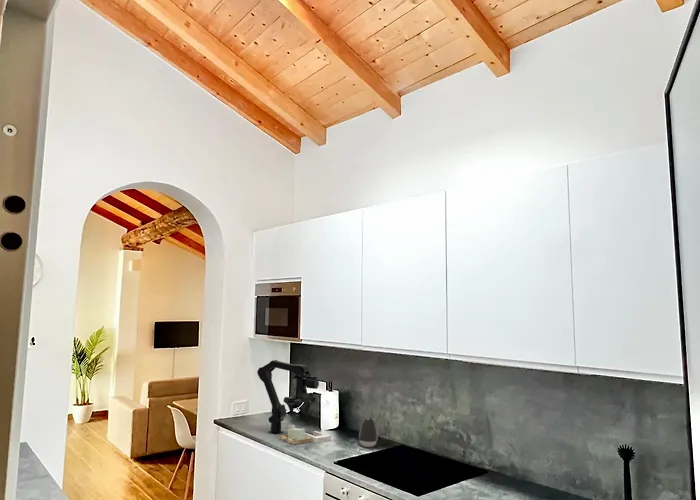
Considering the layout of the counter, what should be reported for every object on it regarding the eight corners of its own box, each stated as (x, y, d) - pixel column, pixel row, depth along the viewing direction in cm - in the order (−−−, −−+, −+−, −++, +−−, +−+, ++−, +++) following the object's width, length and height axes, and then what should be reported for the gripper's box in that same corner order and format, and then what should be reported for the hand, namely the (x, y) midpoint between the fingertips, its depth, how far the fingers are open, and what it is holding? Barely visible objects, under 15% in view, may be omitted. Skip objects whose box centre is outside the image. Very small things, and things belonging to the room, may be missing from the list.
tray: (279, 439, 285) (279, 435, 285) (297, 436, 293) (297, 432, 293) (293, 444, 274) (293, 441, 274) (311, 442, 282) (311, 438, 282)
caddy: (285, 438, 287) (285, 425, 289) (293, 437, 290) (293, 424, 292) (297, 439, 277) (297, 426, 279) (305, 438, 280) (304, 425, 282)
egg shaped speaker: (379, 444, 282) (380, 416, 284) (375, 449, 272) (376, 420, 274) (361, 442, 285) (362, 414, 287) (356, 447, 275) (357, 418, 277)
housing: (301, 437, 291) (302, 432, 291) (315, 435, 297) (316, 430, 297) (316, 443, 280) (316, 438, 280) (330, 440, 286) (330, 436, 287)
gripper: (293, 390, 285) (292, 419, 283) (321, 388, 296) (320, 416, 294) (283, 387, 294) (282, 415, 292) (311, 385, 305) (309, 412, 303)
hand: (298, 414), depth 295 cm, fingers open, 9 cm apart
